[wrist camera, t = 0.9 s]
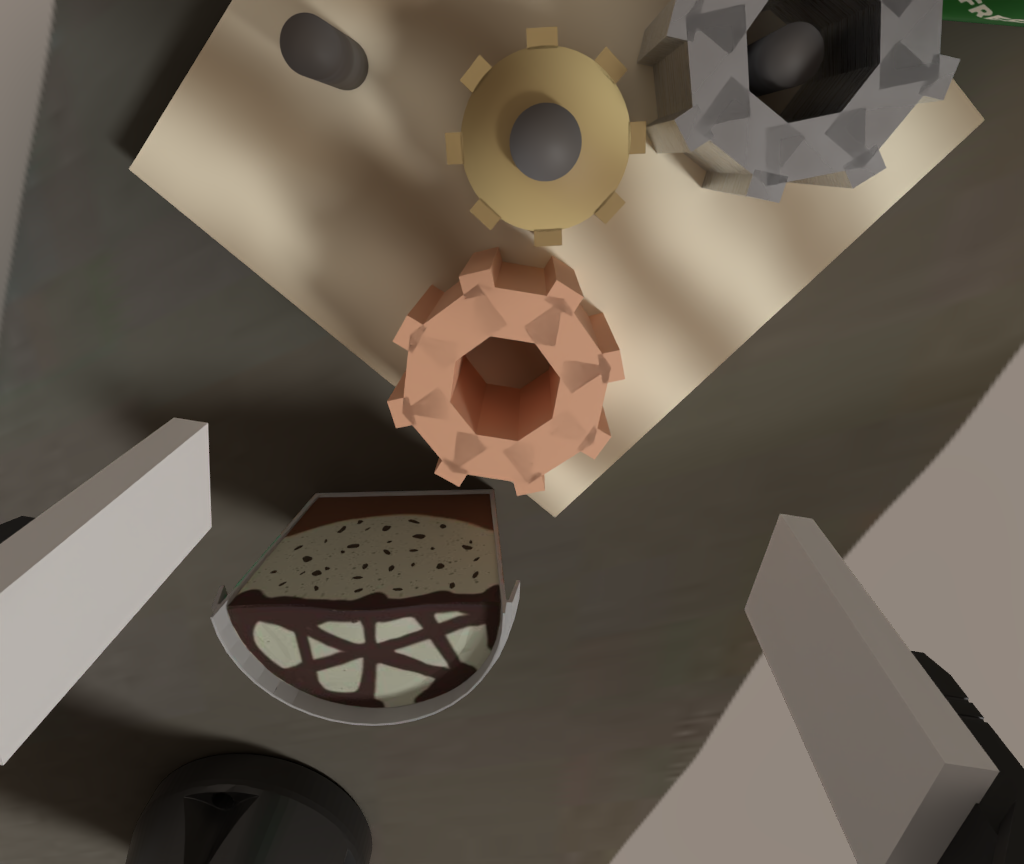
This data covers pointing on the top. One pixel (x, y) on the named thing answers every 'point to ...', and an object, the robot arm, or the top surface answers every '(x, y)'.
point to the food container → (373, 605)
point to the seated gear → (814, 108)
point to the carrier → (505, 181)
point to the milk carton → (985, 11)
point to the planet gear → (499, 409)
